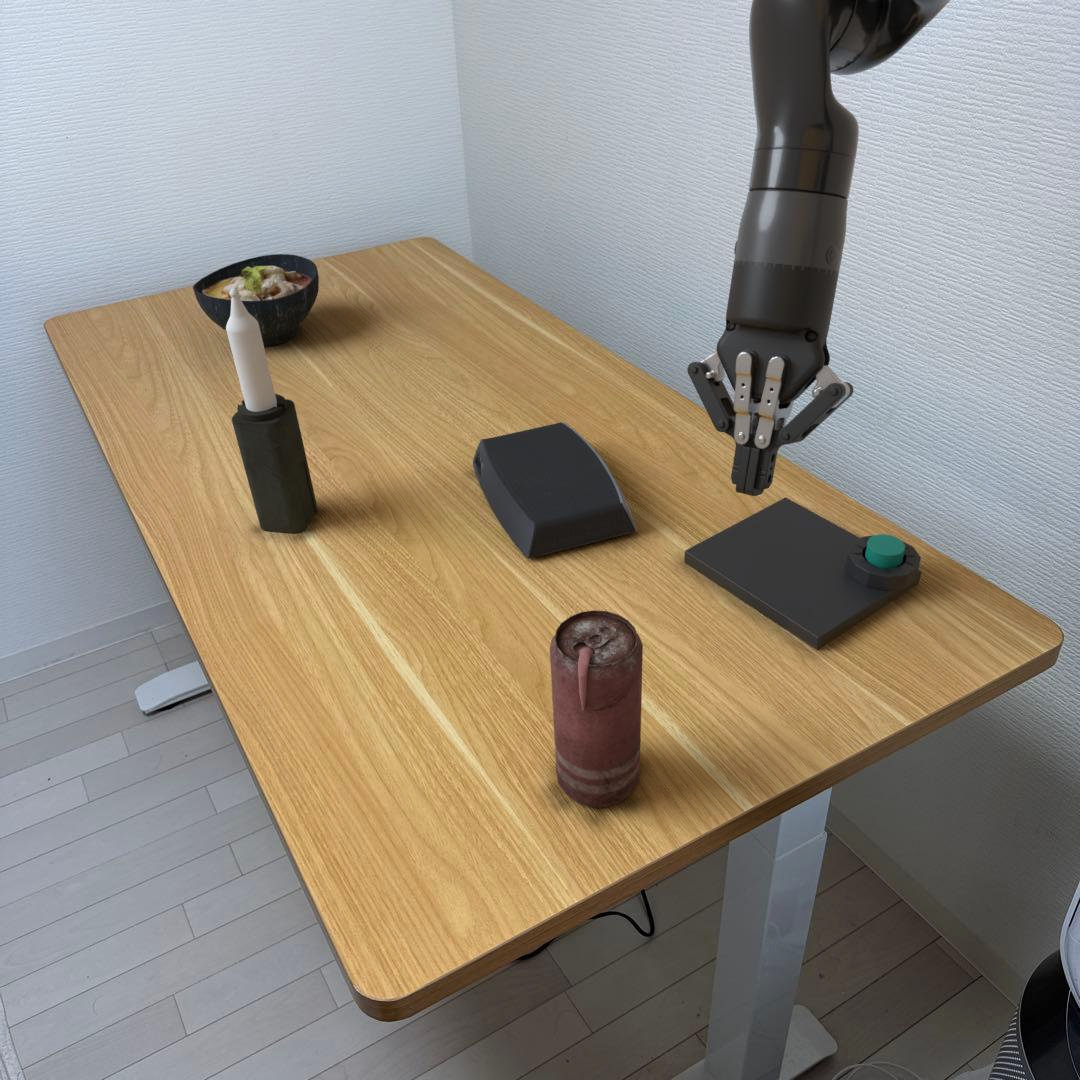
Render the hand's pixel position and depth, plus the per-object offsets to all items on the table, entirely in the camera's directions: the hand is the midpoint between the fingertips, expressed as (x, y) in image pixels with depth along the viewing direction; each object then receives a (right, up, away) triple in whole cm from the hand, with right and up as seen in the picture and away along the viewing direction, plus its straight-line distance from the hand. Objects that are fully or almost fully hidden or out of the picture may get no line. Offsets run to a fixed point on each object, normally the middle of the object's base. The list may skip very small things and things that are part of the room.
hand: (749, 492), depth 74 cm
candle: (-42, -2, +26) cm, 50 cm away
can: (-12, -21, -4) cm, 25 cm away
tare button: (+15, -5, +12) cm, 20 cm away
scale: (+8, -7, +15) cm, 18 cm away
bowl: (-56, +26, +65) cm, 90 cm away
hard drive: (-15, +1, +27) cm, 31 cm away
